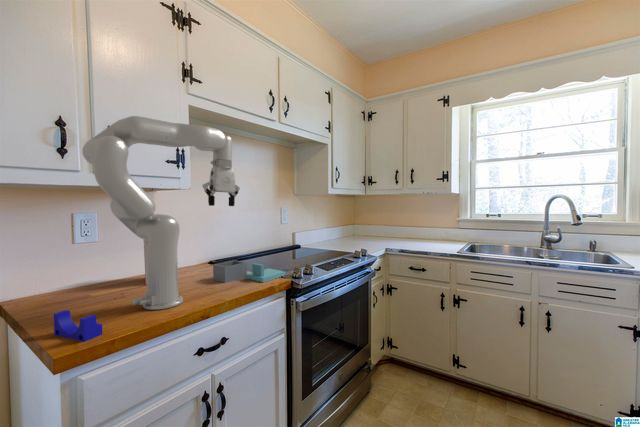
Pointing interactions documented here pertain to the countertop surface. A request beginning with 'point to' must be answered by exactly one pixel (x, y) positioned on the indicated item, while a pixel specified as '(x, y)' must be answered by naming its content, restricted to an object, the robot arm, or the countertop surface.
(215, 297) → the countertop surface
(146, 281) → the cracker box
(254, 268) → the lid
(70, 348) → the countertop surface
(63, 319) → the cable clip
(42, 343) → the countertop surface
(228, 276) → the tub
